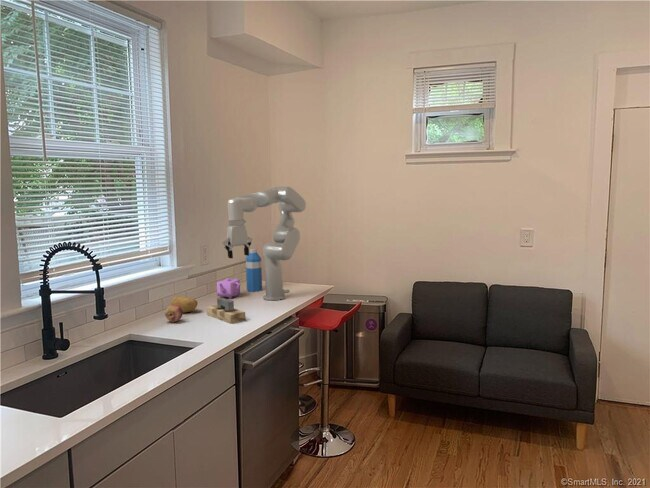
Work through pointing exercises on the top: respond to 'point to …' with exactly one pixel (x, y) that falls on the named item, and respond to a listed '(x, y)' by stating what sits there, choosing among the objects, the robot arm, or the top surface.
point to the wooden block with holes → (226, 314)
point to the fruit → (173, 313)
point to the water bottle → (253, 271)
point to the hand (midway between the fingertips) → (238, 256)
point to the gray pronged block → (225, 304)
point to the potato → (185, 303)
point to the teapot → (228, 288)
